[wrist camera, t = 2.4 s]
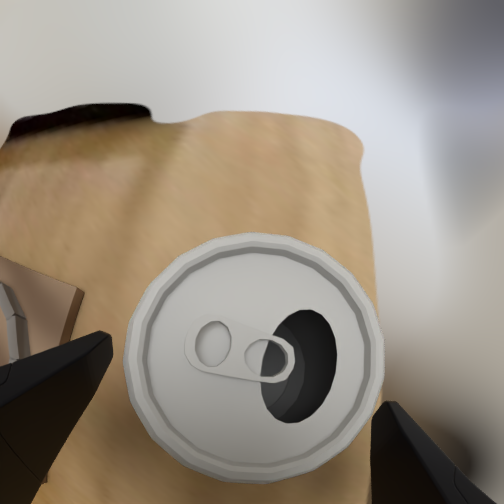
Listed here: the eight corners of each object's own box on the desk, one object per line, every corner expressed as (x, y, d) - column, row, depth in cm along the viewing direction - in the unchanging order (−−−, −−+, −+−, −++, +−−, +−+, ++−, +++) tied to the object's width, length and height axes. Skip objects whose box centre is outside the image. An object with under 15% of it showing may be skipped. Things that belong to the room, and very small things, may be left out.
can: (286, 436, 15) (374, 513, 4) (168, 408, 15) (69, 447, 4) (311, 326, 18) (416, 245, 7) (200, 298, 18) (161, 180, 8)
